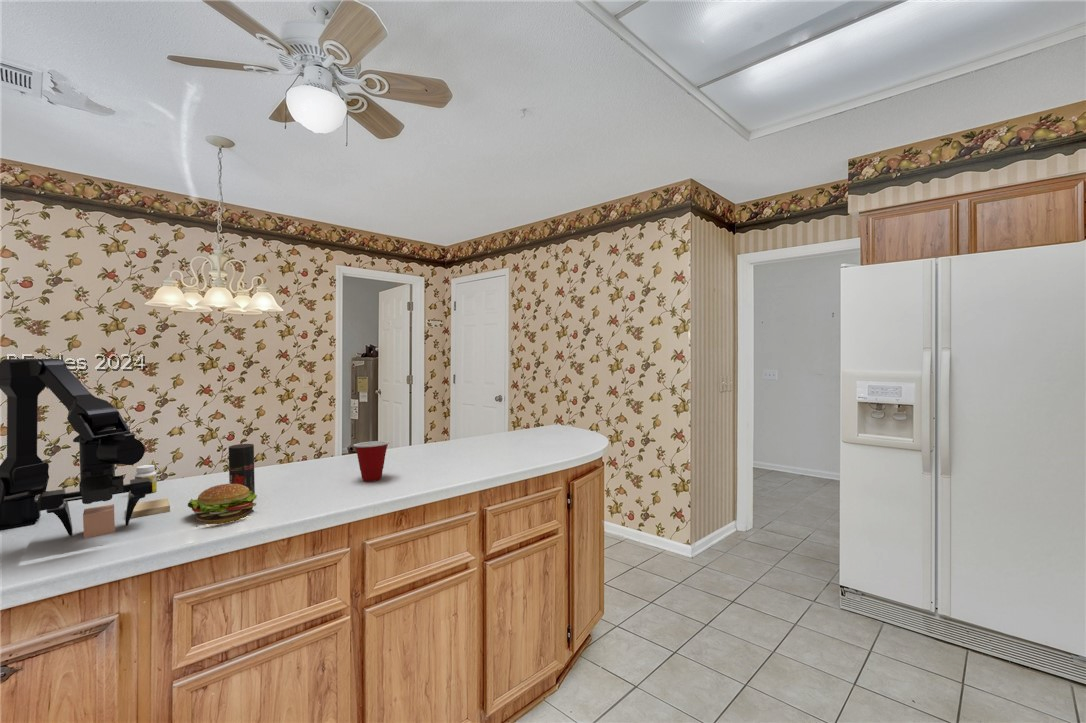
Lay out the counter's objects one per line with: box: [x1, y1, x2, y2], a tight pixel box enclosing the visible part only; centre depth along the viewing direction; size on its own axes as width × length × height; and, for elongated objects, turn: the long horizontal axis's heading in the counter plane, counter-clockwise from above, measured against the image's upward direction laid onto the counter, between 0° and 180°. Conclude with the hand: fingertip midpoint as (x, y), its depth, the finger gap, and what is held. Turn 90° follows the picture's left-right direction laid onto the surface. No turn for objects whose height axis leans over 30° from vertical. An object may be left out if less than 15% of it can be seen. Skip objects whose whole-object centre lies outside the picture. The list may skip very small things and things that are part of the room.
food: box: [187, 483, 258, 525], centre depth 120 cm, size 14×14×8 cm
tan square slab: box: [130, 497, 171, 519], centre depth 121 cm, size 8×8×2 cm
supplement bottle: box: [134, 464, 158, 496], centre depth 136 cm, size 5×5×8 cm
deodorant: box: [228, 443, 256, 495], centre depth 133 cm, size 6×6×15 cm
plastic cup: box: [353, 440, 390, 483], centre depth 153 cm, size 11×11×12 cm
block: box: [82, 503, 116, 539], centre depth 108 cm, size 5×5×6 cm
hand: (99, 530), depth 108 cm, fingers open, 9 cm apart
